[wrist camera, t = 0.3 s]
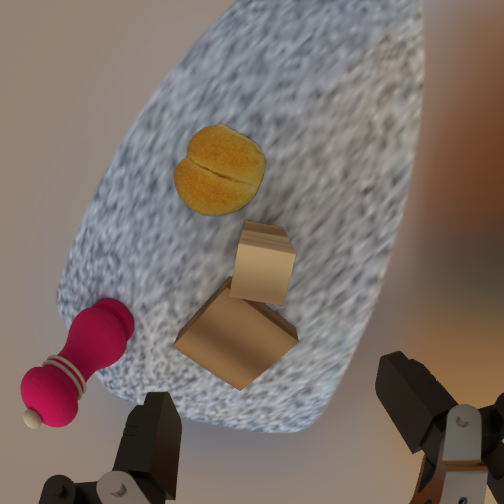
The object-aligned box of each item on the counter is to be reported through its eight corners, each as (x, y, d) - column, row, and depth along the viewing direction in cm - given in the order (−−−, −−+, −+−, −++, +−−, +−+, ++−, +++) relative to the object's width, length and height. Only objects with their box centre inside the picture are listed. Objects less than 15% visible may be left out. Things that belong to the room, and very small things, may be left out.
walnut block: (229, 276, 30) (227, 287, 27) (295, 327, 32) (298, 341, 29) (178, 332, 32) (172, 346, 29) (241, 375, 34) (240, 390, 31)
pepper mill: (118, 286, 31) (14, 389, 12) (148, 334, 33) (77, 456, 13) (82, 304, 32) (-12, 393, 13) (110, 347, 34) (39, 450, 14)
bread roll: (167, 193, 28) (154, 196, 24) (207, 118, 26) (199, 109, 22) (235, 229, 29) (231, 238, 25) (277, 154, 27) (281, 151, 23)
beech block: (244, 220, 29) (238, 243, 19) (283, 227, 29) (296, 254, 19) (238, 256, 30) (229, 296, 20) (274, 263, 30) (283, 305, 20)
